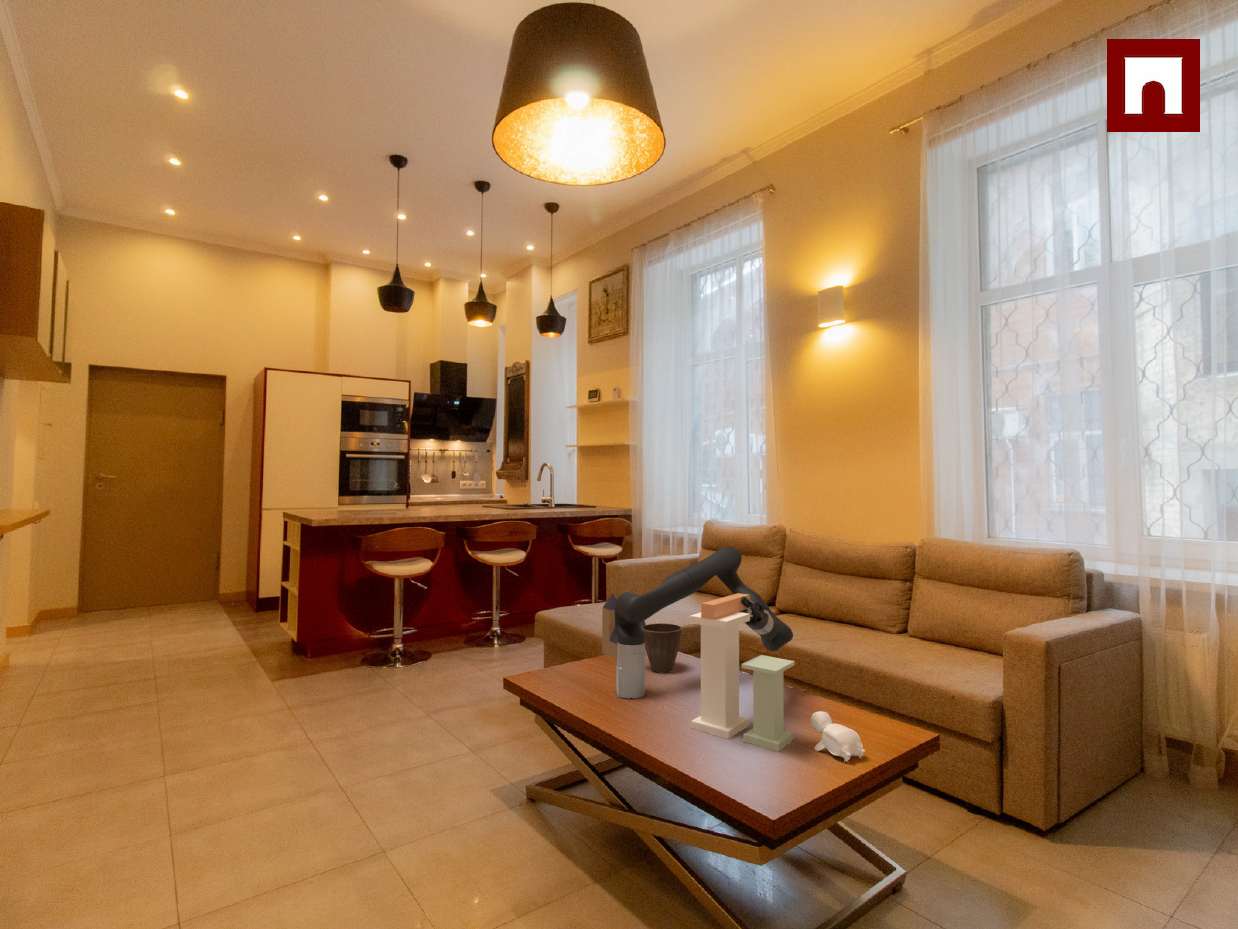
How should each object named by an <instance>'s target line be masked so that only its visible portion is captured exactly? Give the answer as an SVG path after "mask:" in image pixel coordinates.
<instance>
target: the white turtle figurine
mask: <svg viewBox="0 0 1238 929" xmlns="http://www.w3.org/2000/svg"><path fill="white" fill-rule="evenodd" d="M810 726H811V727H812V729H814V730H815V731H816V733H818V734H821V740H820V741H819V742H817V744H816V745H815V746H814V748H813V749H814V750H815V749H816V750H818V751H817V752H820V751H822V750H825V749H826V750H827V751H829V753H830V754H832V755H833V756H835V757H836V756H838V757H840V758H842V759H844V762H845V761H848V760H850V759H851V757H850V756H852V757H858V758H859V757H861V756H863V757H864V754H865V752H866V749H864V747H863V746H864V745H863V743H862V739H861V737H860V735H859V734H858V733H857V731H856V730H854V729H852V728H850V727H847V726H845V725H843V724H839V723H833V720H832V718H831V716H830V714H829V713H828V712H827V711H823V710H822V711H821V710H820V711H815V712H813V713H812V714H811V717H810ZM816 750H815V751H816ZM848 762H849V761H848Z"/></svg>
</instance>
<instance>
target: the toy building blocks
mask: <svg viewBox="0 0 1238 929" xmlns="http://www.w3.org/2000/svg"><path fill="white" fill-rule="evenodd" d="M616 600H617V598H616V596H615V595H614V593H613V592H612V593H611V594H610V596H609V598H608V599H607V600H606V602H605V603H604V604H603V606H602V607H601V608H602V610H601V611H602V616H601V619H602V623H601V624H602V625H601V626H602V628H601V632H602V633H601V640H602V642H601V653H602V654H603V655H606V656H607V657H609V655H610V656H611V657H613V658H614V659H613V658H612V659H613V660H615V659H616V660H615V661H617V635H616V631H615V603H616ZM639 625H640V628H641V630H642V627H643V626H645V625H647V624H646V620H644V621H642V622H640V623H639ZM645 650H646V648H645ZM611 657H610V658H611Z"/></svg>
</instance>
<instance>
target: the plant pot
mask: <svg viewBox="0 0 1238 929" xmlns="http://www.w3.org/2000/svg"><path fill="white" fill-rule="evenodd" d="M682 630H683V628H682V626H680V625H678V624H673V623H650V624H646V625H645V626H643V627H642V631H643V632H644V634H645V648H646V651H645V653H646V655H647V657H648V662H649V664H650V667H651V670H652V671H653V672H654V671H657V672H662V673H661V674H666V673H665V672H668V673H670V671H671V672H672V671H673V668H674V666H675V663H676V658H677V656H678V652H679V647H680V642H681V636H682V635H681V634H682ZM657 672H656V673H657Z"/></svg>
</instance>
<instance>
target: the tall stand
mask: <svg viewBox="0 0 1238 929" xmlns="http://www.w3.org/2000/svg"><path fill="white" fill-rule="evenodd" d="M688 620H689V623H688V624H694V625H700V716H698V717H696V718H693V719H692V720H691V721H690V728H691V729H693V730H696V731H700V732H704V733H706V732H707V734H710V735H713V736H715V737H720V738H724V739H727V740H729V739H731V738H733V737H734V736H735V735H737V734H739V733H740V732H741V731H743V730H745V729H746V728H748V727H749V724H750V722H749V720H750V719H749V718H746V717H742V716H740V625H741V624H745V622H748V621H750V614H748V613H741V612H736V613H733V614H729V615H726V616H723V617H720V618H717V619H714V620H713V619H707V618H701V611H700V612H698V613H695V614H691V615H689V619H688ZM747 726H748V727H747ZM738 732H739V733H738Z"/></svg>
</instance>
